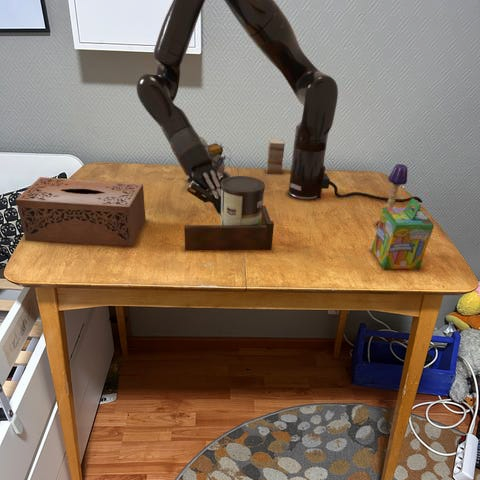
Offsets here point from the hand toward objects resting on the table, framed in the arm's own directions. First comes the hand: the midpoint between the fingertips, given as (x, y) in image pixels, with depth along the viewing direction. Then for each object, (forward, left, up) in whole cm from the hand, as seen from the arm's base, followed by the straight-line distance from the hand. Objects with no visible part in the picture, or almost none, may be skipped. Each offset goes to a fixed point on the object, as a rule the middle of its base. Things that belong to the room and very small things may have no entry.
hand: (224, 213), depth 117 cm
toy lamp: (-44, -3, -5) cm, 44 cm away
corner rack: (0, +4, -5) cm, 6 cm away
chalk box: (-40, +15, -5) cm, 43 cm away
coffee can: (-4, +4, -5) cm, 7 cm away
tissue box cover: (+34, -1, -5) cm, 34 cm away
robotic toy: (+4, -33, -5) cm, 33 cm away
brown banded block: (-20, -45, -5) cm, 49 cm away
